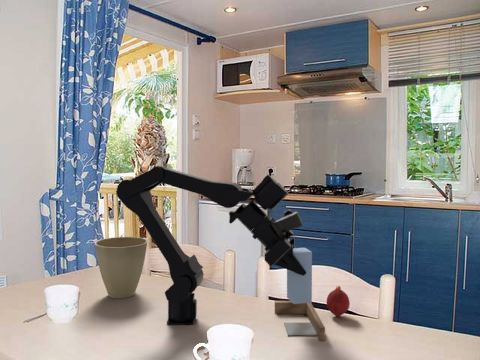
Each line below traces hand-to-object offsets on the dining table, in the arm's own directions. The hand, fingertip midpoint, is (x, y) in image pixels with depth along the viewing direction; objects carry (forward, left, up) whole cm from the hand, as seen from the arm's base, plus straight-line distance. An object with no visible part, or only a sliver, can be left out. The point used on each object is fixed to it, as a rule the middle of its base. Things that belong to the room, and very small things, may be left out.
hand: (305, 270), depth 95 cm
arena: (-2, +2, -14) cm, 14 cm away
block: (-1, 0, -7) cm, 7 cm away
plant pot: (-50, +25, -14) cm, 58 cm away
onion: (+10, +8, -14) cm, 19 cm away
